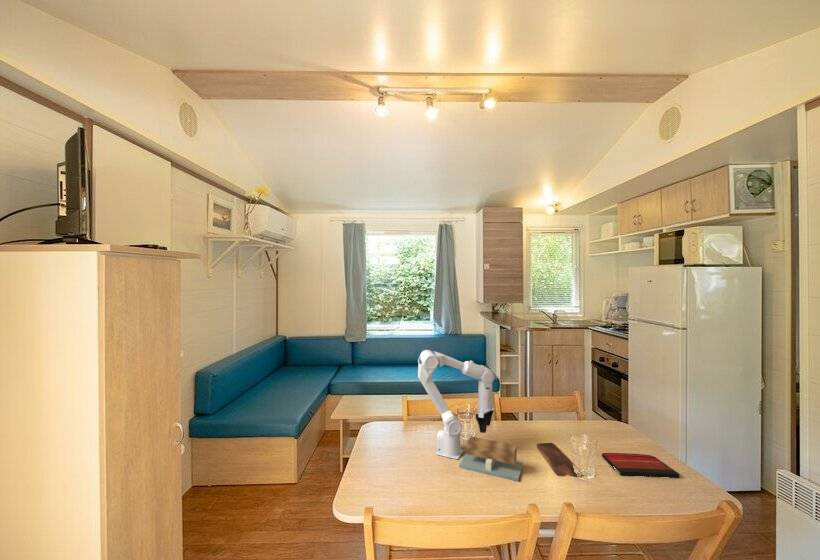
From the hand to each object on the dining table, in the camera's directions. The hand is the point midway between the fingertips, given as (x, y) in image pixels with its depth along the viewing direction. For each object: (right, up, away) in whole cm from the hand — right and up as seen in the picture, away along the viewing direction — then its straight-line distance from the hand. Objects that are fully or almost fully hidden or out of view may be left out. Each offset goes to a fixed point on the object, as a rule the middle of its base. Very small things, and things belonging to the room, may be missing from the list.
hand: (485, 428), depth 149 cm
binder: (+57, -10, -11) cm, 59 cm away
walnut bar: (0, -6, -12) cm, 13 cm away
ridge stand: (0, -10, -12) cm, 15 cm away
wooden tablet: (+28, -10, -6) cm, 30 cm away
